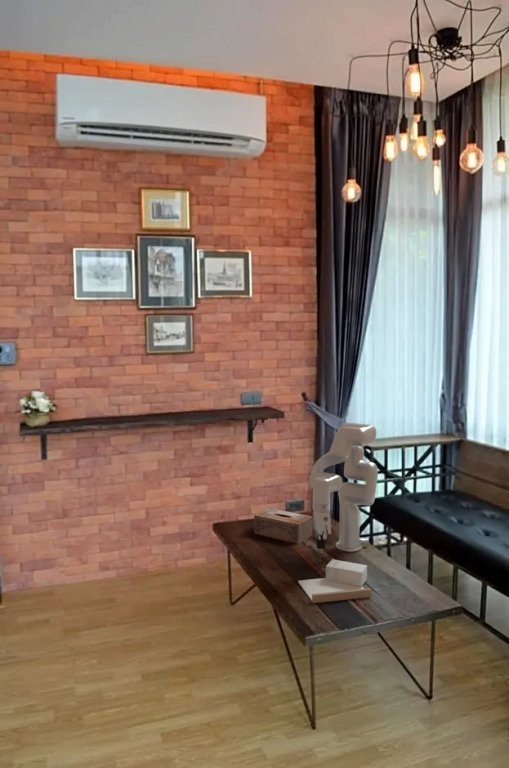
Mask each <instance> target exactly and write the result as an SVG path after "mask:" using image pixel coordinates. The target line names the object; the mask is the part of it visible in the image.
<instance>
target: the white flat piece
mask: <svg viewBox="0 0 509 768" xmlns="http://www.w3.org/2000/svg"><path fill="white" fill-rule="evenodd" d="M297 583H298V584H299V586H300V587H301V588H302V590H303V591H304V592H305V595H307V596H308V598H309V599H310V601H311V603H313V604H317V603H327V602H328V603H329V602H336V601H346V600H354V599H355V600H356V599H363V598H371V597H372V588H370V587H368V588H364V587H363V586H364V585H363V586H362V587H360V586H355V585H350V584H345V583H340V582H334V581H329V580H326V577H323V578H322V577H321V578H312V579H311V578H310V579H303V580H302V579H300V580H297Z"/></svg>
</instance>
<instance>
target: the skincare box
mask: <svg viewBox="0 0 509 768" xmlns="http://www.w3.org/2000/svg"><path fill="white" fill-rule="evenodd" d="M325 578H326V580H329V581H334V582H340V583H345V584H350V585H355V586H360V587H362V586H364V584H365V583H366V581H367V580H368V565H367V564H361V563H357V562H356V563H355V562H350V561H344V560H338V559H334V558H332V559H331V560H330V561H329V562H328V563H327V565H326V566H325Z"/></svg>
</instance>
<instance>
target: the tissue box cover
mask: <svg viewBox="0 0 509 768" xmlns="http://www.w3.org/2000/svg"><path fill="white" fill-rule="evenodd" d="M253 517H254V518H253V520H254V522H253V524H254V525H253V534H254V533H255V535H258V534H259V536H263V535H264V537H267V538H271V537H272V538H273V539H276V540H280V541H284V542H289V543H292V544H293V543H294V544H297V545H299V544H301V543H302V542H304V541H305V540H306V539H309V538H310V537H311V536H312V535H313V515H312V516H311V515H306V514H301V513H297V512H292V511H287V510H282V509H277V508H271V507H268V508H266V509H263V510H262V511H259V512H257V513H255V514H254V516H253ZM272 538H271V539H272Z"/></svg>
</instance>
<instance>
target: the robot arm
mask: <svg viewBox="0 0 509 768" xmlns="http://www.w3.org/2000/svg"><path fill="white" fill-rule="evenodd" d="M336 430H337V431H336V433H335V436H334V439H333V441H332V443H331V446H330V449H329V451H328V452H327V453H325V454H323V455H322V456H320V457H319V458H318V459H317V460H316V461H315V463H314V464H313V467H312V468H311V472H310V474H309V479H308V480H309V481H308V482H309V486H310V487H311V488H312V511H313V512H312V513H313V515H312V529H313V530H314V531H315V533H316V534H315V536H316V548H317V549H318V550H321V549H326V539H328V537H327V535H331V533H332V528H331V527H332V524H331V522H332V520H331V514H330V513H331V512H330V511H331V494H332V493H335V492H337V495H338V500H339V501H338V503H339V531H338V533H339V536H338V541H337V542H336V543H335V548H337V549H338V550H340V551H343V552H350V553H351V552H359V551H361V550H362V549H363V544H368V543H369V542H370V541H369V538H364V537H360V526H361V525H360V524H361V523H360V519H361V518H360V517H361V512H360V508H359V507H358V505H361V506H372V505H373V504H374V503H375V499H376V494H377V492H376V491H377V483H378V466H377V464H376V463H374V462H371V461H366V460H364V458H365V457H364V455H365V449H364V447H366V446H368V445H370V444H372V443H374V441H375V440H376V438H377V429H376V427H375V425H373V424H369V423H368V424H367V423H357V422H344V423H342V424H341V425H340V427H339V428H338V429H336ZM342 463H344V467H343V475H344V477H345V478H346V479H348V480H352V481H358V482H365V484H364V483H357V482H351V481H346V482H344V481H343V478H342V477H341V475H339V474H336V473H330V472H323V471H324V470H325V469H327V468H328V467H331V466H335V465H337V464H338V465H339V464H342Z"/></svg>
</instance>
